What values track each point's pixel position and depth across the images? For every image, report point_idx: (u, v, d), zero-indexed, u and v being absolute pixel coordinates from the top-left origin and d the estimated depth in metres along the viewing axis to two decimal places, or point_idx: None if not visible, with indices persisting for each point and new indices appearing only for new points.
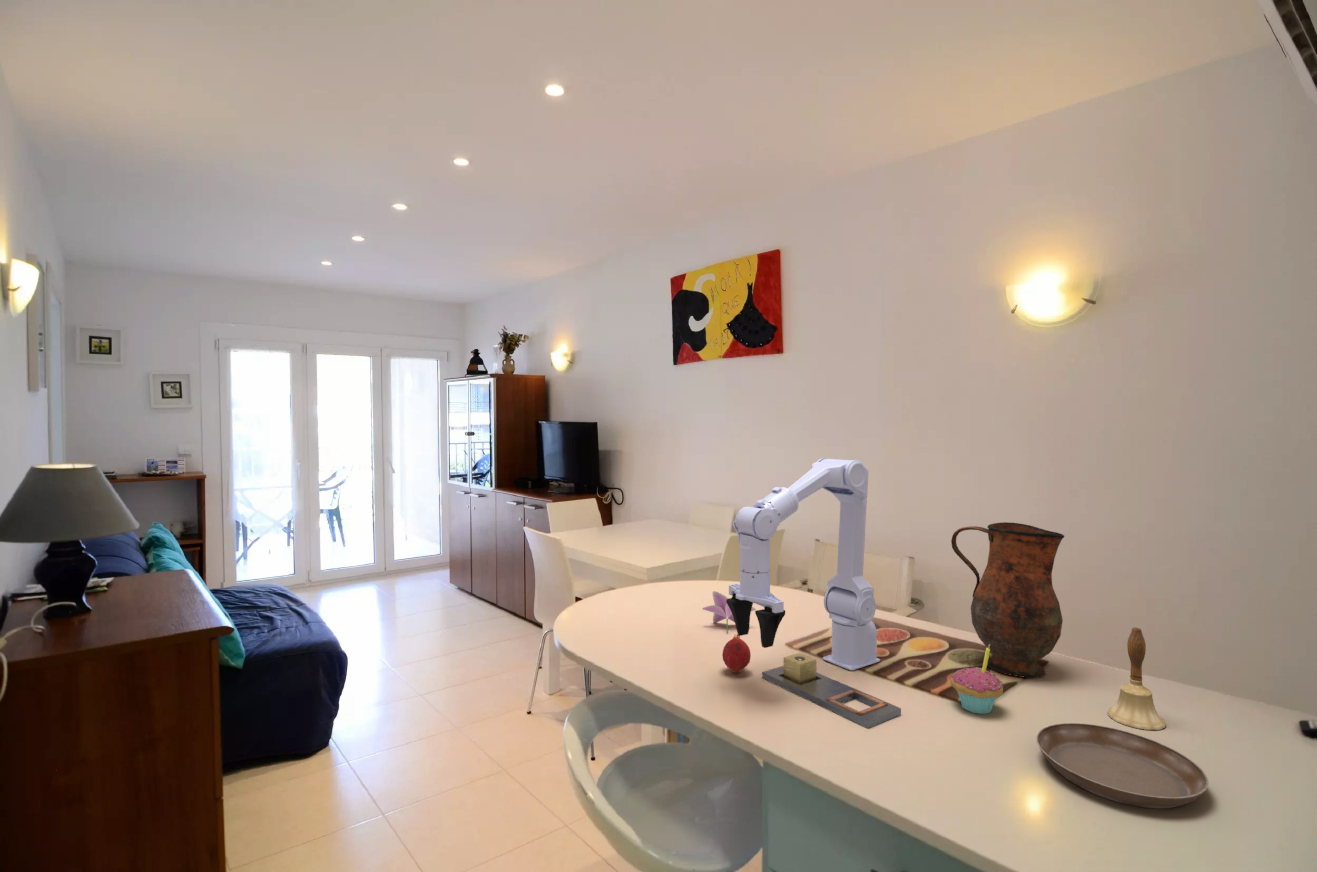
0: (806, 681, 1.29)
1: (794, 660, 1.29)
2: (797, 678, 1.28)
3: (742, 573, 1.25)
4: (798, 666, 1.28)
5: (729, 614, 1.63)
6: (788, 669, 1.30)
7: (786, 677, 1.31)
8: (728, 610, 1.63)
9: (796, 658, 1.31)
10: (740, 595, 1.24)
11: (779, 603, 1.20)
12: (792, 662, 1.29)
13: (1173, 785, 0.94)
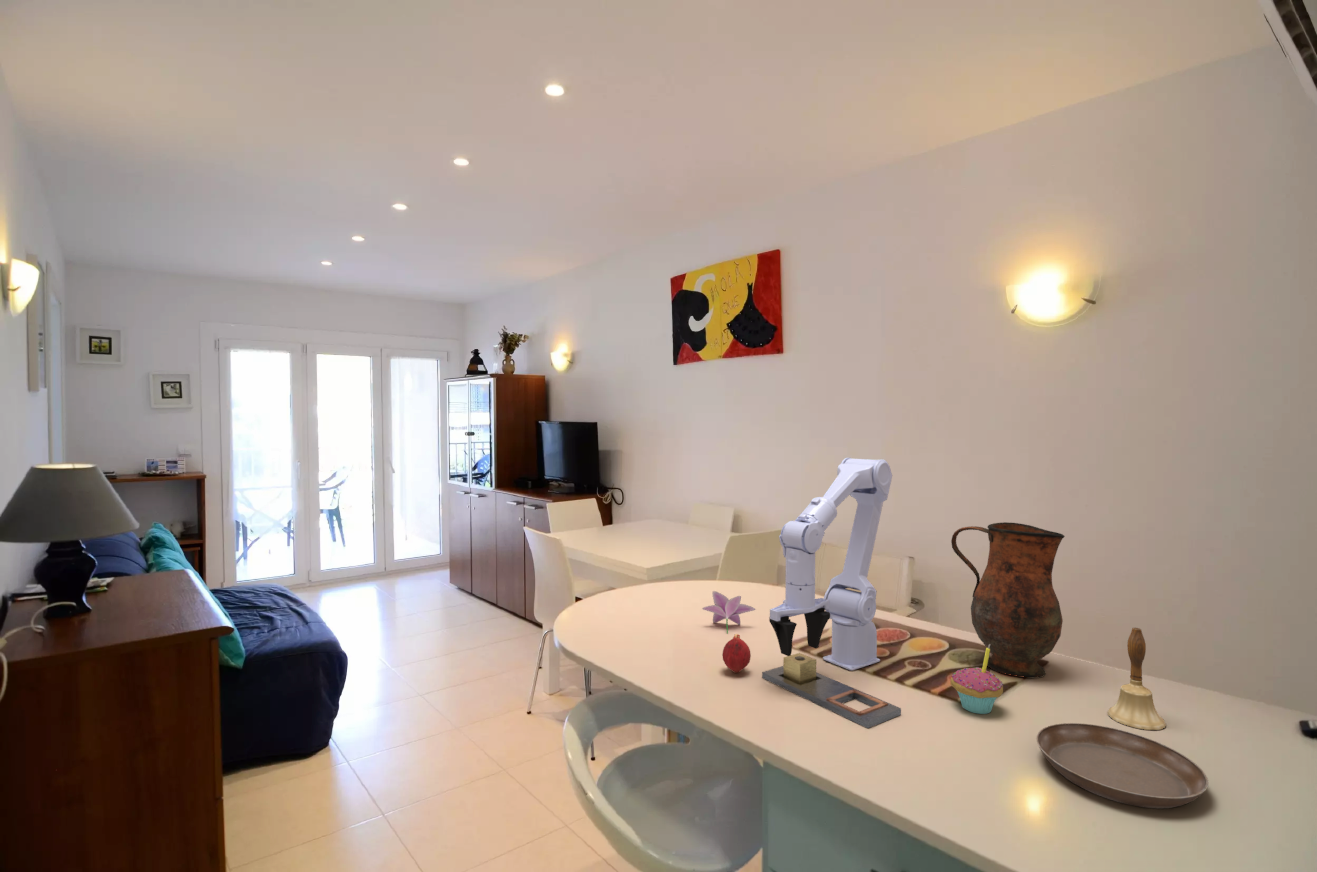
0: (806, 681, 1.29)
1: (794, 660, 1.29)
2: (797, 678, 1.28)
3: None
4: (798, 666, 1.28)
5: (729, 614, 1.63)
6: (788, 669, 1.30)
7: (786, 677, 1.31)
8: (728, 610, 1.63)
9: (796, 658, 1.31)
10: None
11: (773, 611, 1.26)
12: (792, 662, 1.29)
13: (1173, 785, 0.94)
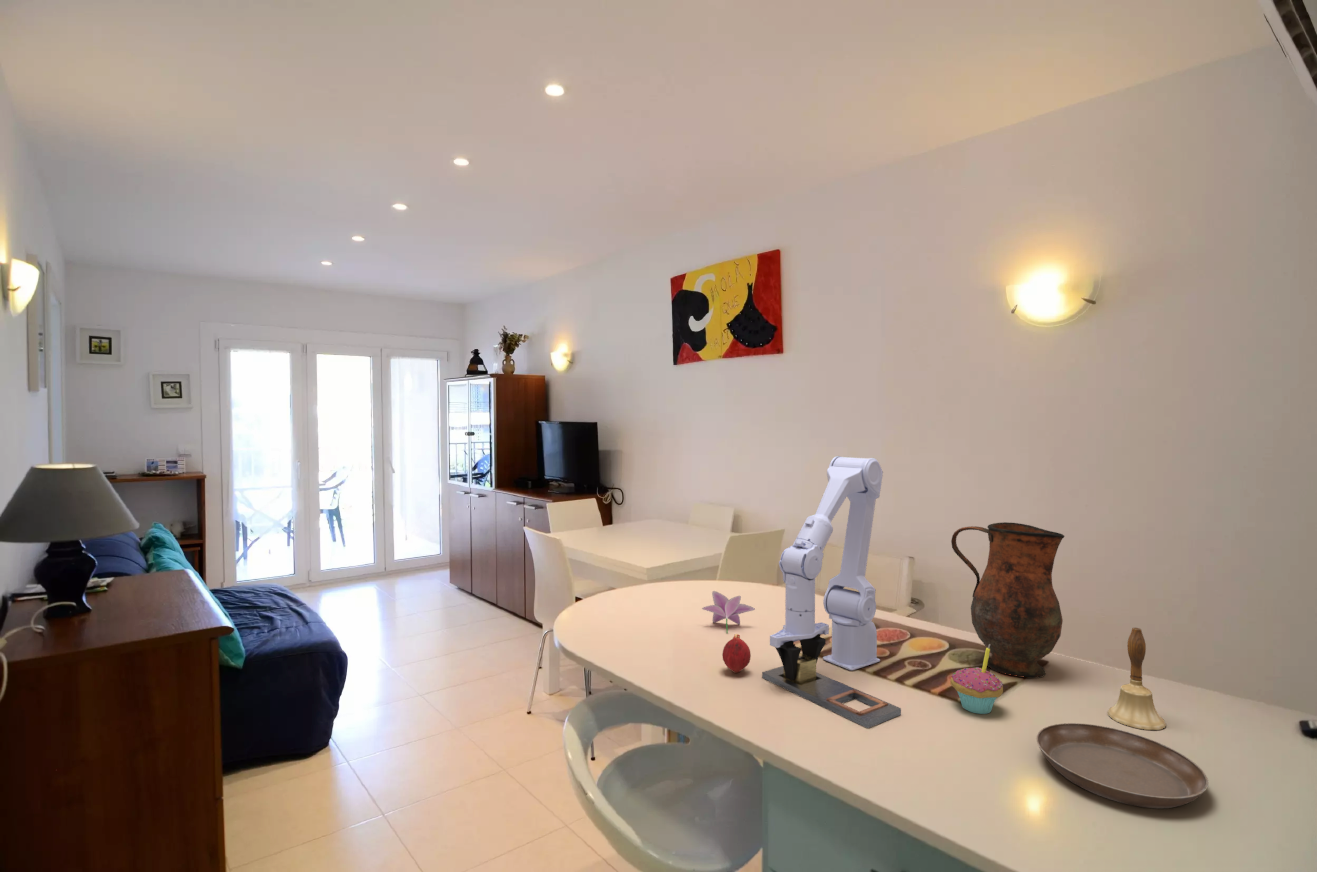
0: (806, 681, 1.29)
1: None
2: (797, 677, 1.28)
3: None
4: (798, 666, 1.28)
5: (729, 614, 1.63)
6: None
7: None
8: (728, 610, 1.63)
9: None
10: None
11: (773, 638, 1.26)
12: None
13: (1173, 785, 0.94)
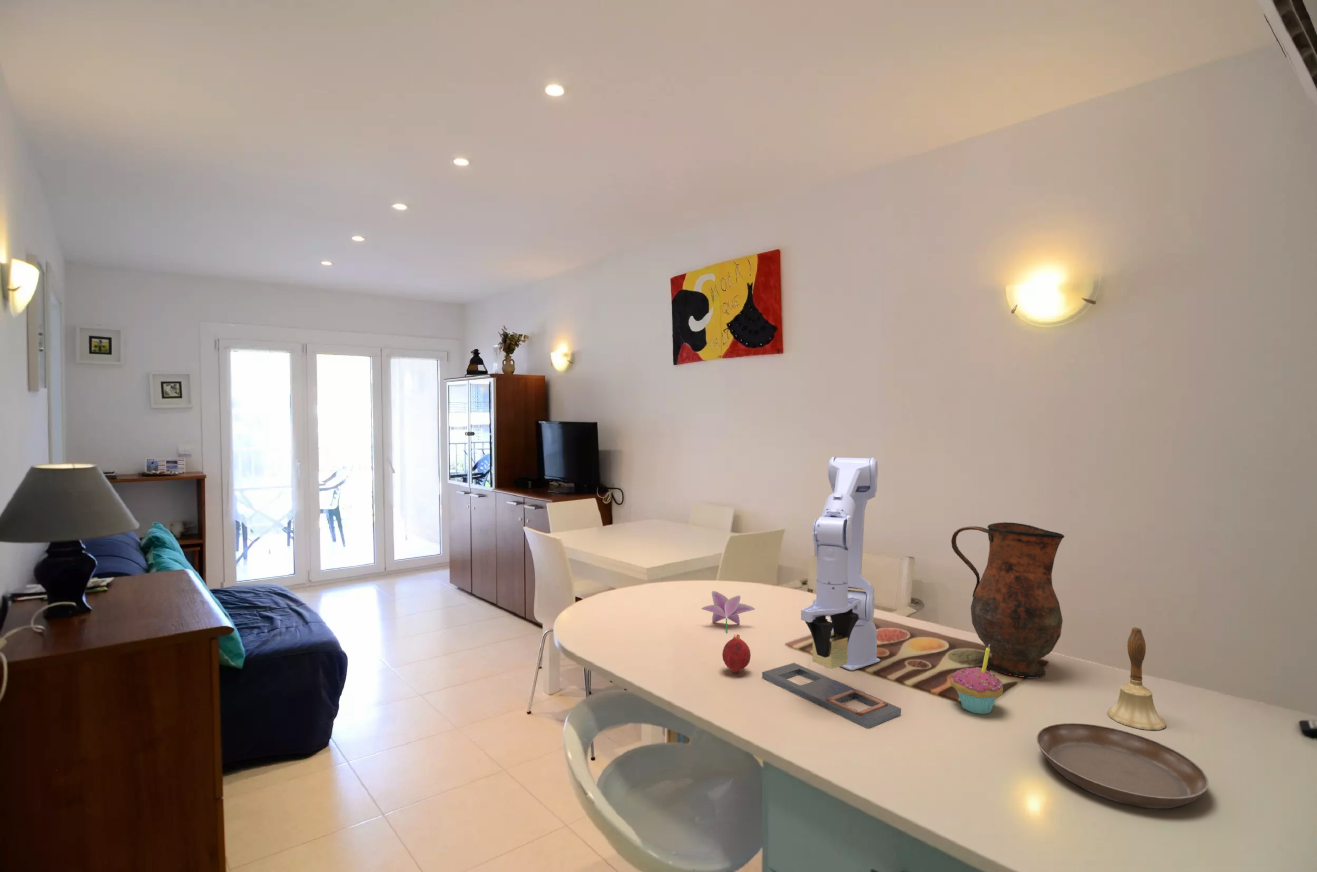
0: (837, 660, 1.22)
1: None
2: (828, 656, 1.21)
3: None
4: (829, 644, 1.21)
5: (728, 614, 1.63)
6: None
7: (816, 656, 1.24)
8: (727, 610, 1.63)
9: None
10: None
11: (804, 612, 1.19)
12: None
13: (1173, 785, 0.94)
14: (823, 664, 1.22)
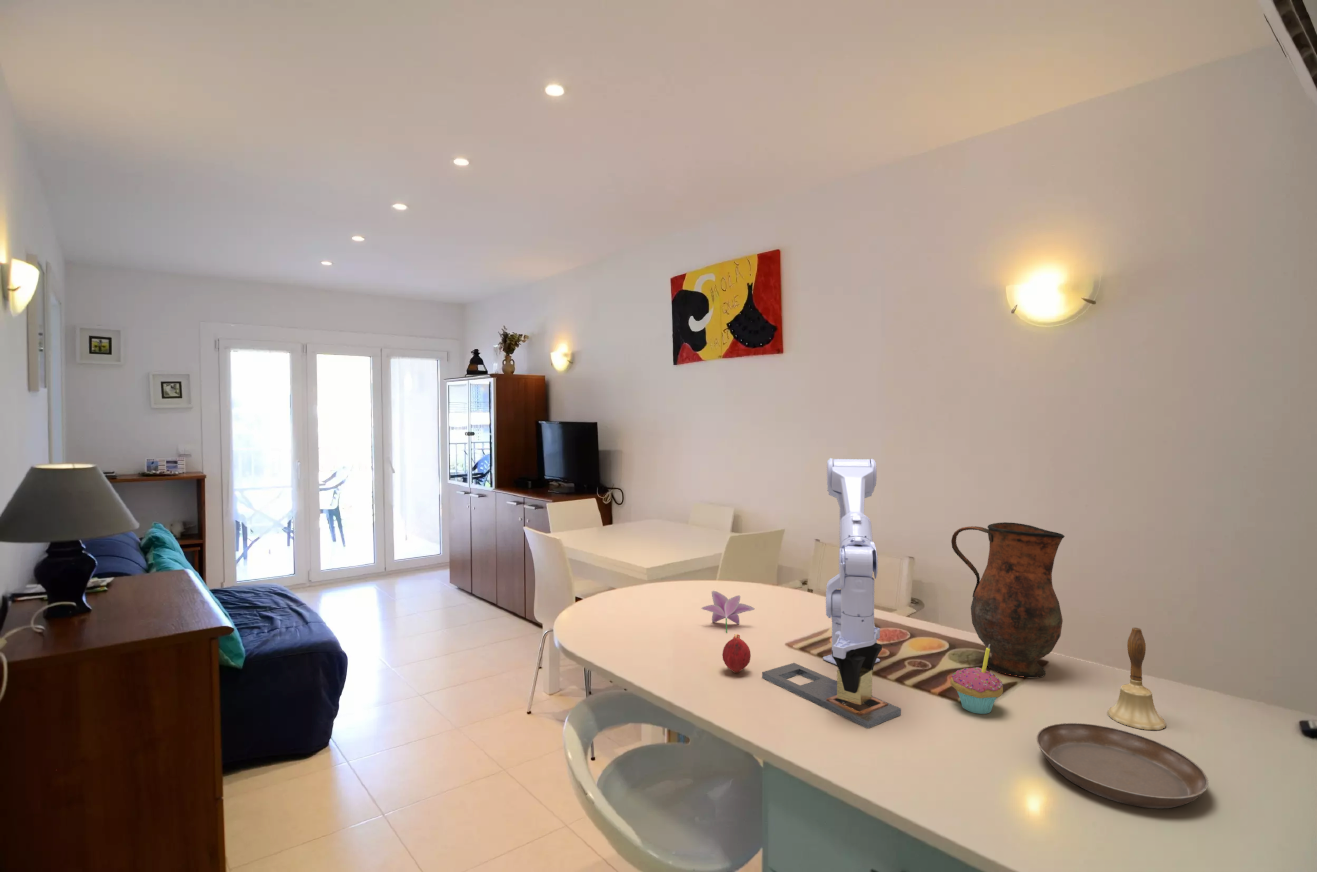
0: (865, 695, 1.17)
1: None
2: (856, 692, 1.17)
3: None
4: None
5: (728, 613, 1.63)
6: None
7: (841, 692, 1.19)
8: (727, 609, 1.63)
9: None
10: (839, 632, 1.21)
11: (837, 648, 1.13)
12: None
13: (1173, 785, 0.94)
14: (850, 700, 1.17)
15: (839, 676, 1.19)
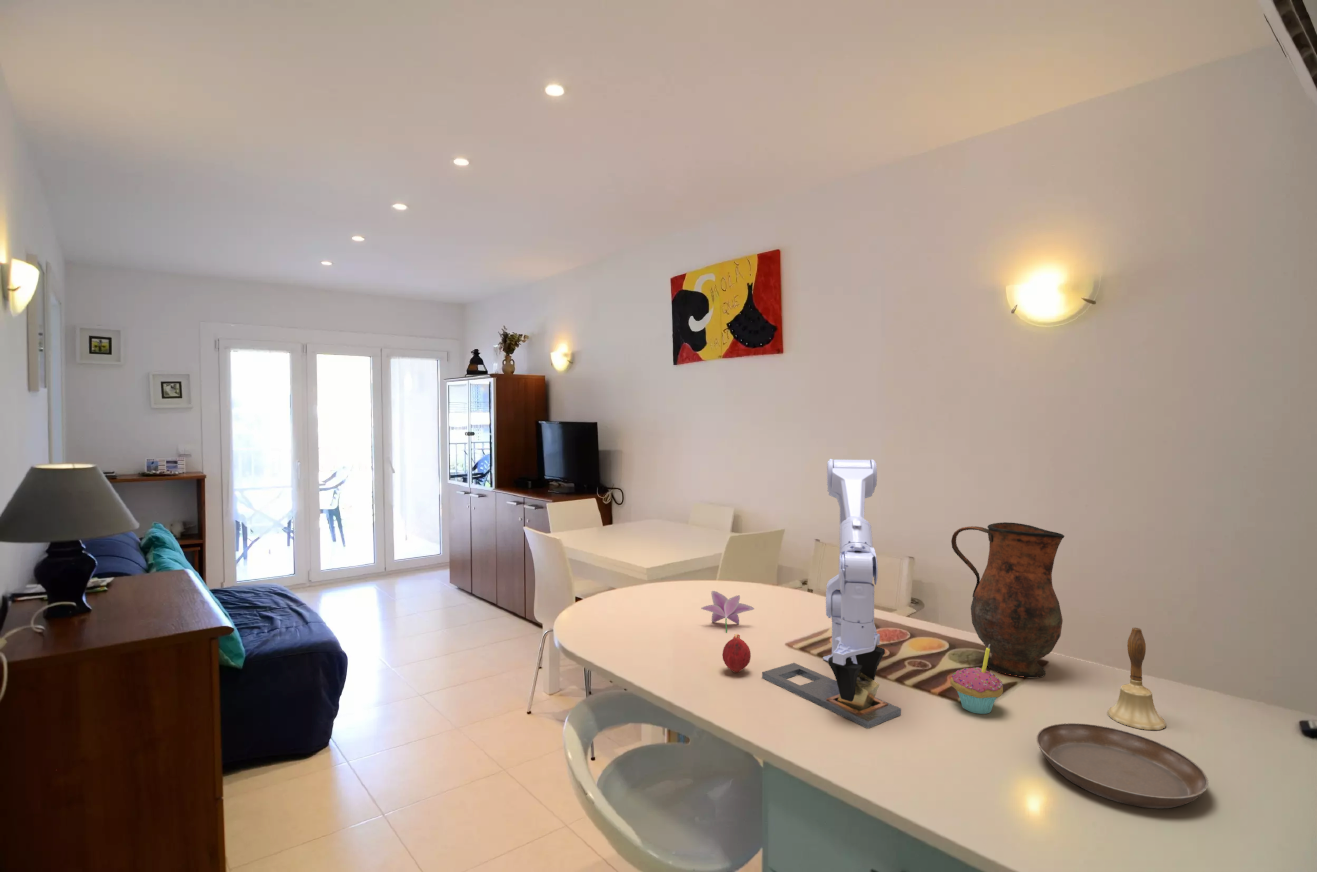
0: (866, 706, 1.17)
1: (859, 684, 1.17)
2: (859, 703, 1.16)
3: None
4: (864, 693, 1.16)
5: (728, 613, 1.63)
6: None
7: None
8: (727, 609, 1.63)
9: (859, 680, 1.18)
10: (839, 638, 1.21)
11: (837, 654, 1.13)
12: (857, 686, 1.17)
13: (1173, 785, 0.94)
14: None
15: None
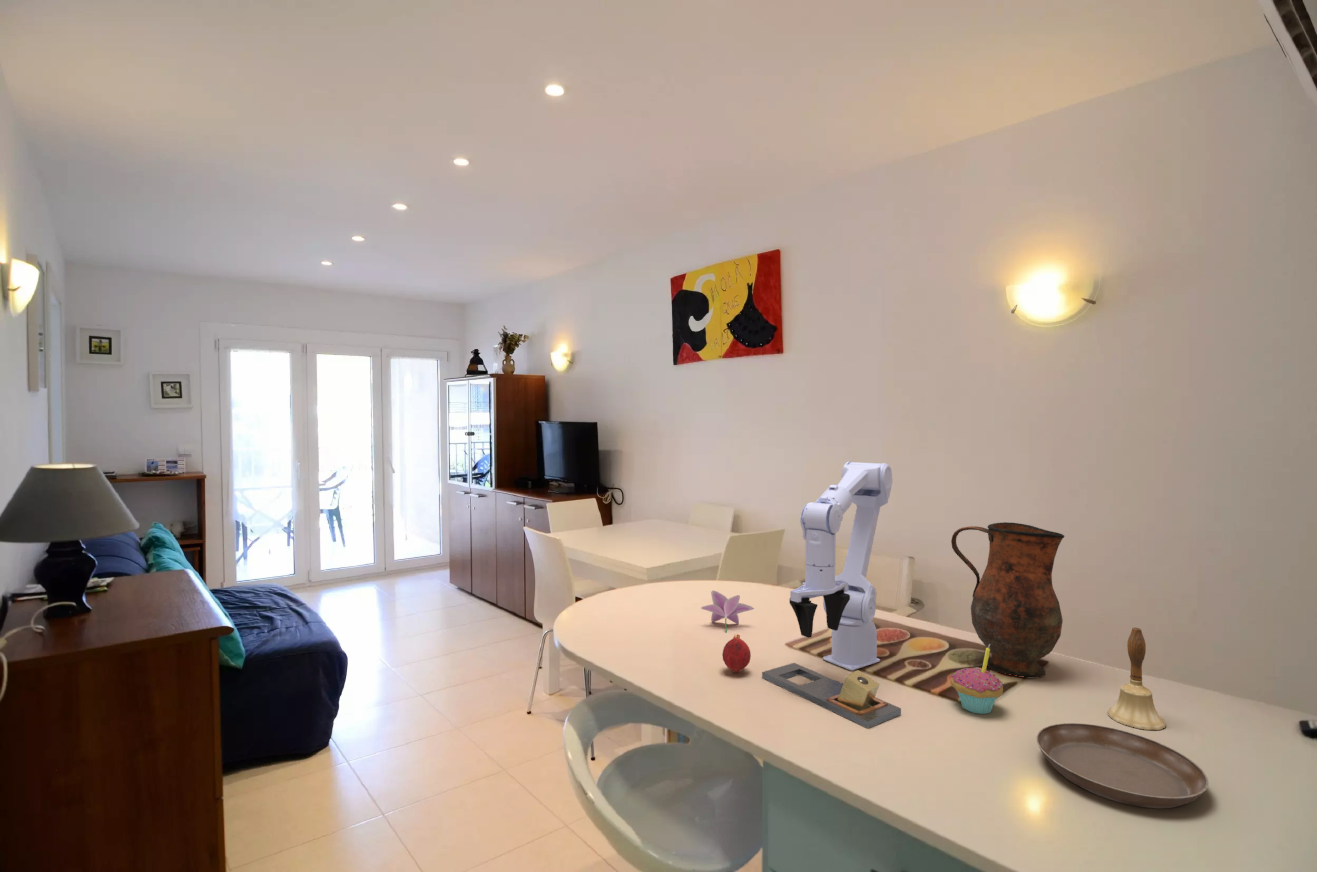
0: (865, 706, 1.17)
1: (859, 683, 1.17)
2: (858, 703, 1.16)
3: None
4: (864, 693, 1.16)
5: (728, 613, 1.63)
6: (848, 690, 1.18)
7: (843, 697, 1.19)
8: (727, 609, 1.63)
9: (859, 680, 1.18)
10: None
11: (793, 592, 1.25)
12: (857, 686, 1.17)
13: (1173, 785, 0.94)
14: None
15: (846, 682, 1.18)
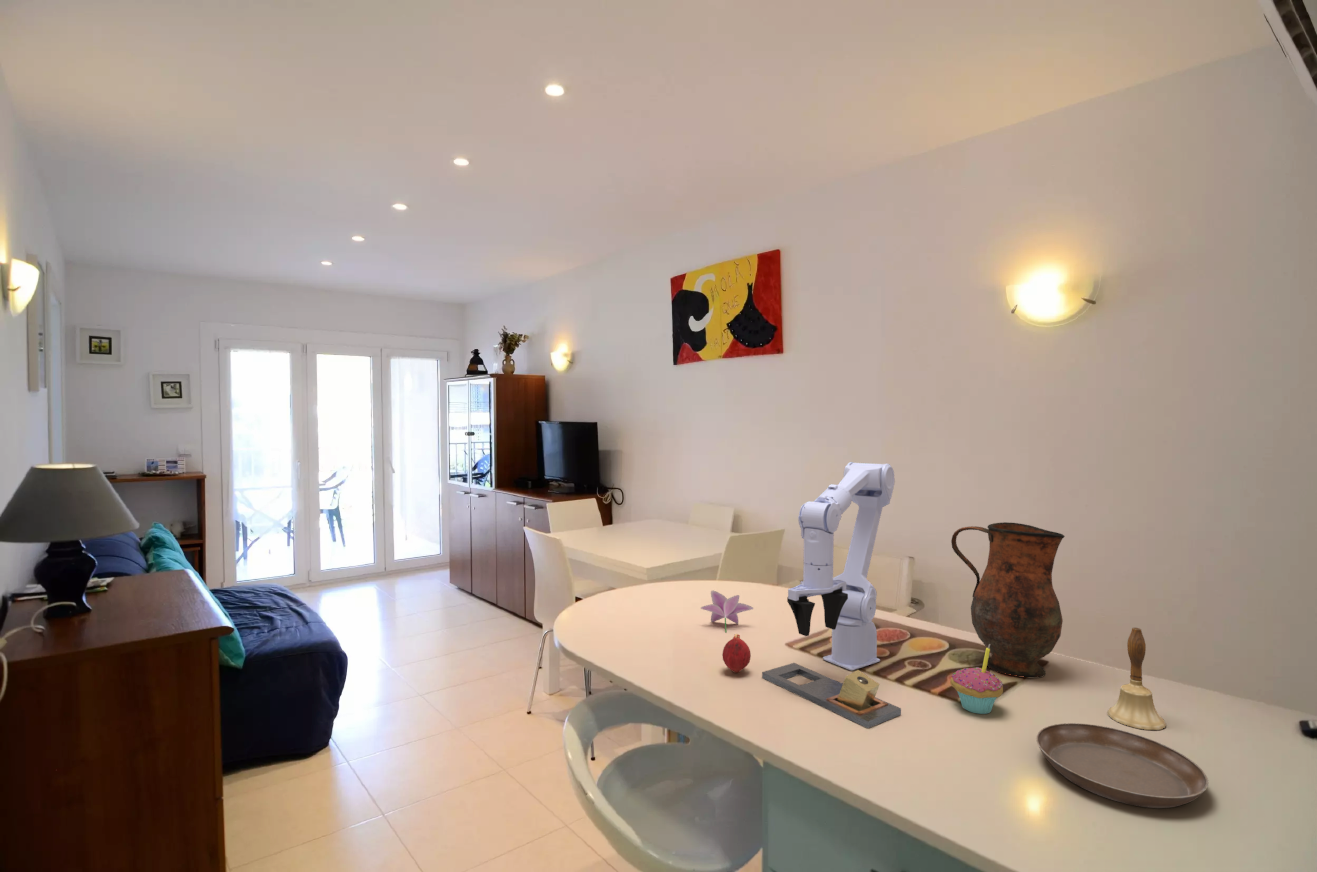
0: (865, 706, 1.18)
1: (858, 683, 1.17)
2: (858, 702, 1.17)
3: None
4: (863, 693, 1.16)
5: (727, 613, 1.64)
6: (848, 689, 1.18)
7: (843, 696, 1.19)
8: (726, 609, 1.63)
9: (859, 679, 1.18)
10: None
11: (791, 591, 1.26)
12: (856, 685, 1.17)
13: (1173, 785, 0.94)
14: (849, 706, 1.18)
15: (846, 682, 1.18)
